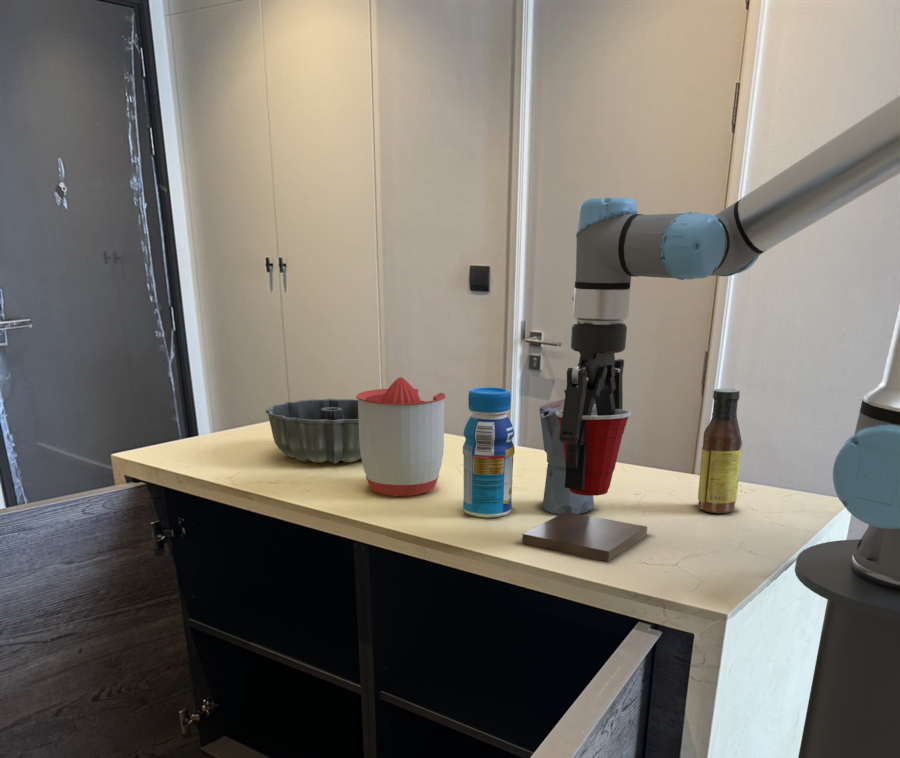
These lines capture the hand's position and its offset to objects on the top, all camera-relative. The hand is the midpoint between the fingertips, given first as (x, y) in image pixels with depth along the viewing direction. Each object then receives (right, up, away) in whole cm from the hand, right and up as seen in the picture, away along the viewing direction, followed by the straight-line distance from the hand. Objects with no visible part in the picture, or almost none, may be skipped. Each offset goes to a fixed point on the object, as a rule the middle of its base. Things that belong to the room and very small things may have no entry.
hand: (588, 481), depth 127 cm
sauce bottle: (+24, -2, +18) cm, 31 cm away
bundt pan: (-45, +13, +54) cm, 71 cm away
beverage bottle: (-14, -3, +17) cm, 22 cm away
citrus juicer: (-29, +3, +30) cm, 42 cm away
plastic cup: (0, -1, +1) cm, 2 cm away
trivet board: (0, -8, +3) cm, 9 cm away
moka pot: (0, -2, +19) cm, 19 cm away
